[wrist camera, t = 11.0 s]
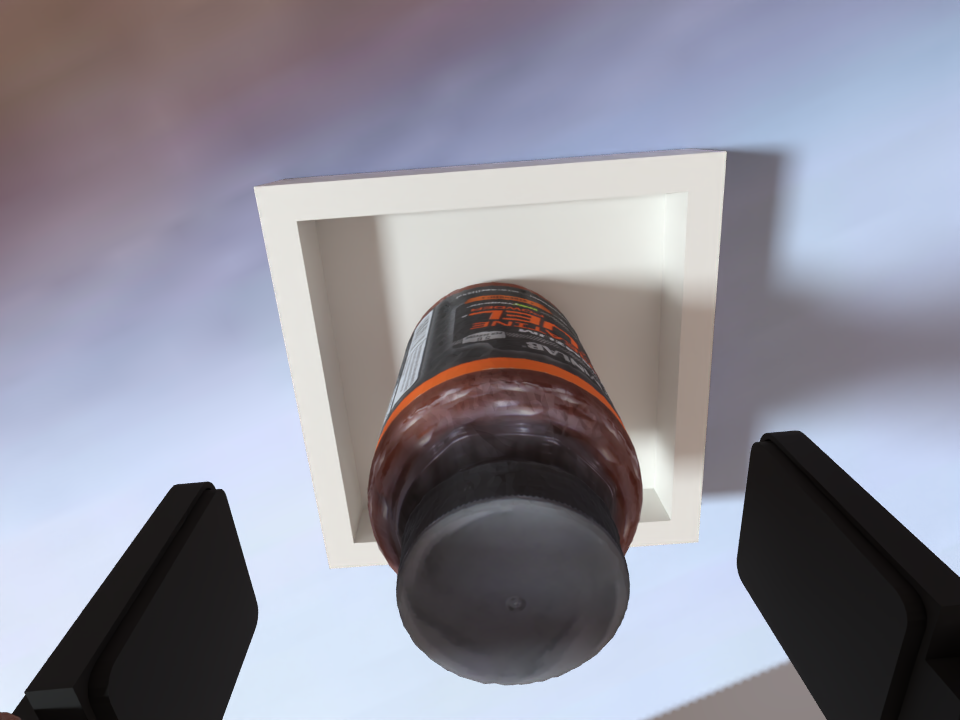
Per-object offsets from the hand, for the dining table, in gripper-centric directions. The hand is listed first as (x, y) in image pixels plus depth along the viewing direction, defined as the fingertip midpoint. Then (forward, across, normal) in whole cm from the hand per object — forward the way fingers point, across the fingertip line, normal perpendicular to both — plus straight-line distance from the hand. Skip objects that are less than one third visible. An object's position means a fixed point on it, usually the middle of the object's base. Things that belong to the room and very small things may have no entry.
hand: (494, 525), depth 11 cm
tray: (+11, -1, +1) cm, 11 cm away
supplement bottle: (+10, -1, +1) cm, 10 cm away
